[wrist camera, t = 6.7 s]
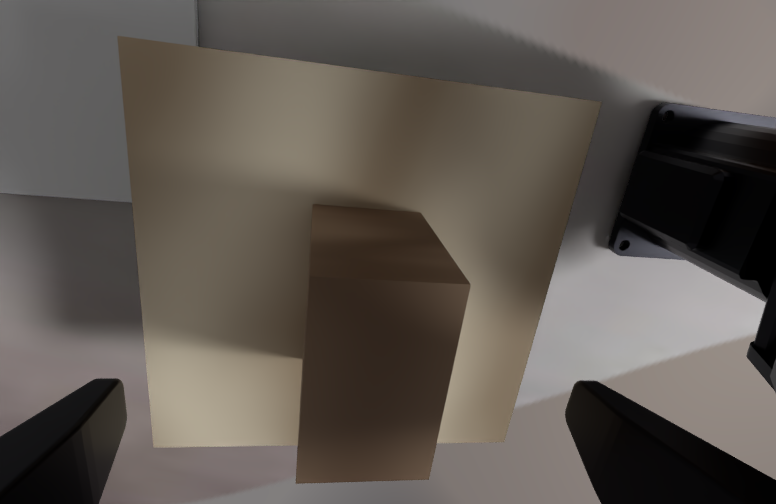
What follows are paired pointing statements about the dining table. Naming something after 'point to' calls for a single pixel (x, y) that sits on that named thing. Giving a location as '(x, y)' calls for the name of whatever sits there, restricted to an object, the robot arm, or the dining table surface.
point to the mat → (73, 91)
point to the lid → (340, 252)
